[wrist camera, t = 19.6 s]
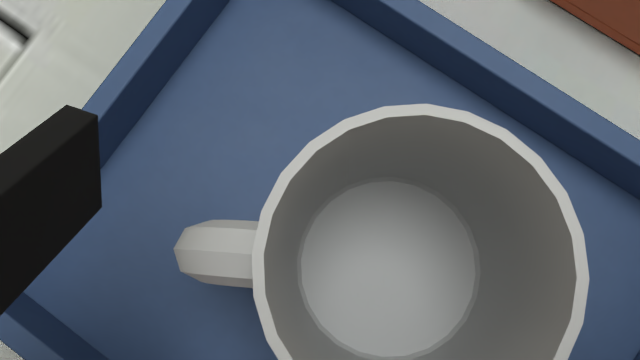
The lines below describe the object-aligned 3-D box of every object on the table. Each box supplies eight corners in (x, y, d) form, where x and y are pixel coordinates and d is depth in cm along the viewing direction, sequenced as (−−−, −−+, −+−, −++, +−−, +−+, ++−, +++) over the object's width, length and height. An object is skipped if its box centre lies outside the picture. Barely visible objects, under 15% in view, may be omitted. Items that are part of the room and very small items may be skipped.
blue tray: (725, 238, 21) (788, 233, 18) (465, 660, 20) (488, 733, 16) (261, -60, 24) (249, -108, 21) (-7, 288, 22) (-62, 291, 19)
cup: (482, 377, 20) (588, 459, 12) (206, 353, 21) (105, 414, 12) (489, 177, 21) (589, 113, 13) (226, 159, 22) (146, 86, 13)
